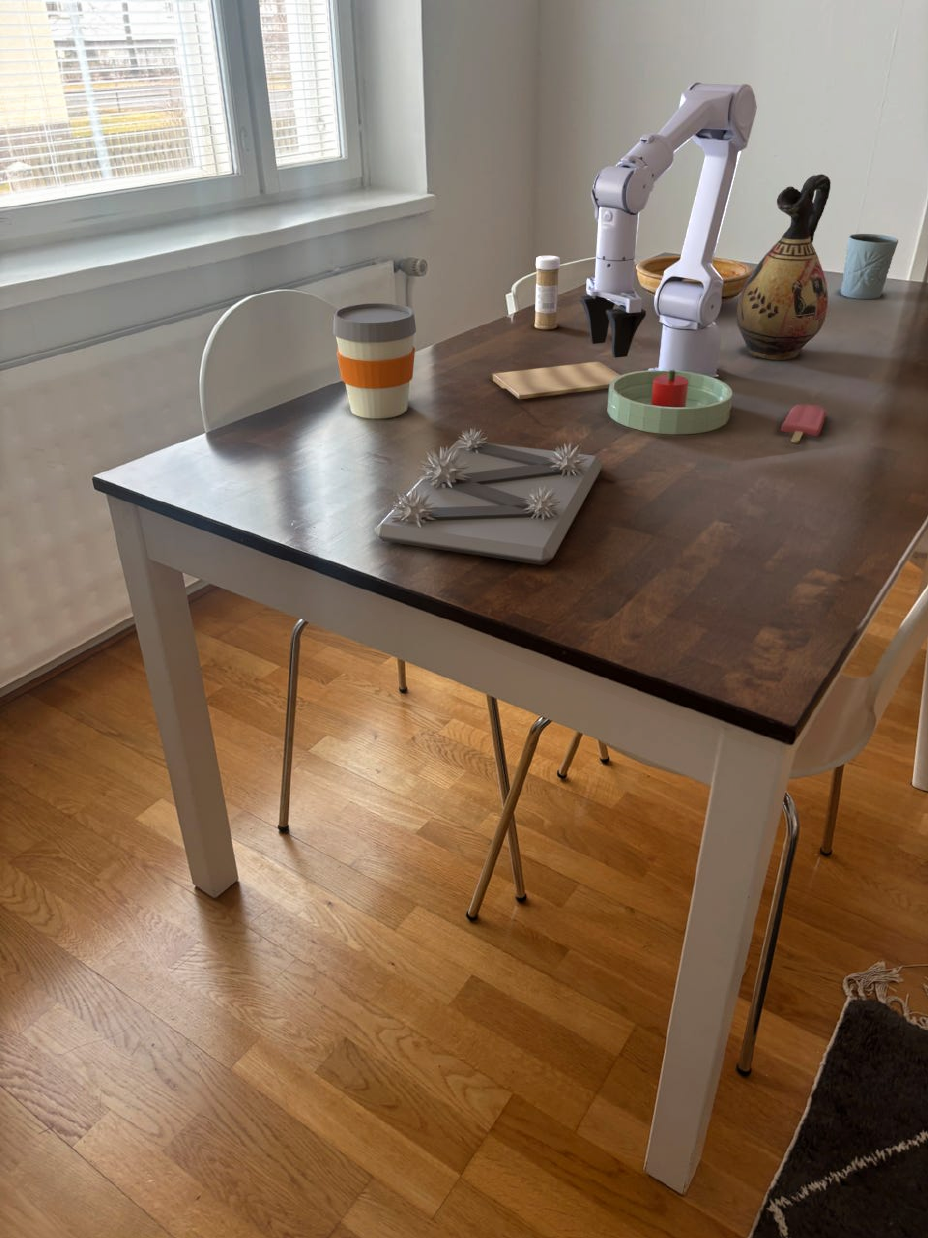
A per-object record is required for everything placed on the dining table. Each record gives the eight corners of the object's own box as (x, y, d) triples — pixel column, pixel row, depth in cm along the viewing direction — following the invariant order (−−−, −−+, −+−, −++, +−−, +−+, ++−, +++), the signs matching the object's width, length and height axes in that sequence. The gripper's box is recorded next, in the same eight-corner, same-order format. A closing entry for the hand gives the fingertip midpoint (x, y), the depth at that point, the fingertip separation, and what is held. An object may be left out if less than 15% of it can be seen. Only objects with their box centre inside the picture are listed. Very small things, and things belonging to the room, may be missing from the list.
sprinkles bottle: (557, 324, 193) (561, 254, 186) (555, 330, 190) (558, 259, 182) (535, 323, 194) (537, 254, 187) (532, 329, 190) (534, 259, 183)
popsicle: (776, 433, 137) (793, 401, 148) (774, 444, 138) (791, 411, 149) (815, 439, 135) (829, 406, 146) (813, 449, 136) (827, 416, 147)
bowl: (688, 391, 158) (691, 364, 155) (752, 429, 143) (756, 400, 140) (587, 404, 152) (589, 377, 150) (642, 445, 138) (645, 415, 135)
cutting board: (598, 367, 169) (598, 361, 168) (630, 388, 159) (630, 381, 159) (492, 380, 163) (492, 373, 163) (519, 402, 154) (519, 395, 153)
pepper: (673, 405, 150) (678, 364, 147) (691, 416, 146) (696, 373, 142) (644, 409, 149) (648, 367, 145) (661, 420, 145) (665, 377, 141)
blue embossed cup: (834, 288, 218) (844, 232, 212) (880, 289, 217) (892, 233, 211) (842, 299, 210) (854, 241, 203) (890, 300, 208) (903, 242, 202)
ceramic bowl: (657, 285, 222) (661, 249, 218) (762, 296, 212) (768, 258, 208) (611, 314, 200) (614, 274, 196) (726, 328, 190) (732, 287, 186)
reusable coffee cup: (365, 391, 159) (360, 298, 151) (432, 402, 154) (430, 307, 146) (323, 415, 149) (315, 317, 141) (393, 427, 144) (389, 327, 136)
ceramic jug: (787, 371, 166) (820, 184, 151) (714, 352, 176) (738, 175, 160) (839, 352, 176) (875, 174, 160) (767, 335, 186) (794, 166, 170)
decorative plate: (549, 573, 106) (552, 515, 102) (371, 545, 112) (367, 489, 108) (604, 470, 130) (607, 420, 126) (454, 452, 136) (454, 404, 132)
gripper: (570, 249, 144) (565, 339, 152) (613, 269, 133) (606, 365, 140) (612, 246, 146) (606, 335, 154) (658, 265, 135) (649, 360, 142)
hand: (608, 349), depth 147 cm, fingers open, 7 cm apart
